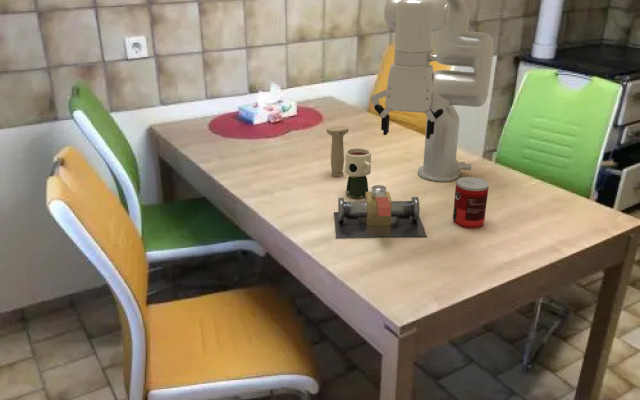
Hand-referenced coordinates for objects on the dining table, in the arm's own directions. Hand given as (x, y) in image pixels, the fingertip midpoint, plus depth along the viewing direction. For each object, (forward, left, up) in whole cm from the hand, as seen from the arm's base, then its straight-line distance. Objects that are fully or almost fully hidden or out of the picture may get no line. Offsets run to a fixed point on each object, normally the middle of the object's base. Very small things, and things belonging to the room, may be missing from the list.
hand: (407, 135), depth 133 cm
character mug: (+9, -25, -26) cm, 37 cm away
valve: (+5, -6, -25) cm, 26 cm away
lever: (+5, -2, -18) cm, 19 cm away
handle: (+14, -40, -26) cm, 49 cm away
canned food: (-18, -7, -26) cm, 32 cm away
